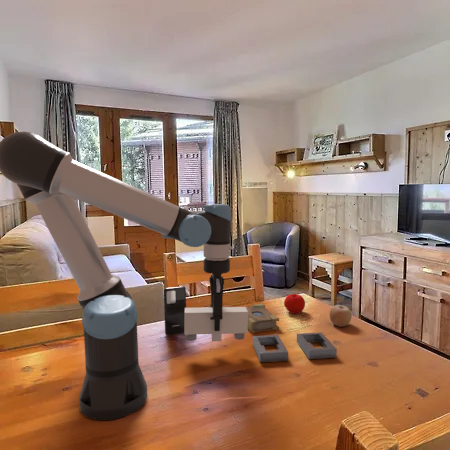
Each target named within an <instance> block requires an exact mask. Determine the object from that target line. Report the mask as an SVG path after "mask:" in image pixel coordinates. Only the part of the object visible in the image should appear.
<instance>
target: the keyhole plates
mask: <svg viewBox="0 0 450 450" xmlns="http://www.w3.org/2000/svg"><path fill="white" fill-rule="evenodd" d="M296 343H297V344H298V346H299V347H300V348H301V350H302V351H303V352H304V354H305V355H306V357H307V358H308V359H309V360H316V359H330V358H332V359H333V358H337V357H338V356H337V352H338V351H337V350H338V349H337V348H336V346H334V344H333V343H332V342H331V341H330V340H329V339H328V338H327V336H325V334H324V333H323V332H320V331H319V332H306V333H296ZM312 343H319V344H320V345H321V346H322V347H314V345H313V344H312ZM252 345H253V348H254V350H255V353H256V355H257V357H258V361H259V362H260V363H265V362H266V363H268V362H285V361H287V362H288V361H289V351H288V349H287V347H286V346H285V344H284V342H283V341H282V339H281V337H280V336H279V334H271V335H270V334H268V335H254V336H253V335H252ZM270 345H272V346H273V345H275V347H276V350H266V347H265V346H270Z"/></svg>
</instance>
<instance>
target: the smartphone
mask: <svg viewBox="0 0 450 450" xmlns="http://www.w3.org/2000/svg"><path fill="white" fill-rule="evenodd" d="M186 290H187V288H186V286H173V287H172V286H171V287H165V288H164V289H163V309H164V312H163V313H164V314H163V315H164V334H165V335H166V336H172V335H173V336H174V335H180V334H181V335H182V334H184V318H185V308H187V293H186V292H187V291H186Z"/></svg>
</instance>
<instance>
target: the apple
mask: <svg viewBox="0 0 450 450" xmlns="http://www.w3.org/2000/svg"><path fill="white" fill-rule="evenodd" d="M283 304H284V307H285V309H286V310H287V312H288V313H290V314H294V315H297V314H300V313H302V312H304V310H305V307H306V301H305V298H304V297H303V296H302V295H300V294H297V293H292V294H288V295H287V296H286V297H285V298H284V300H283Z"/></svg>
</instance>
